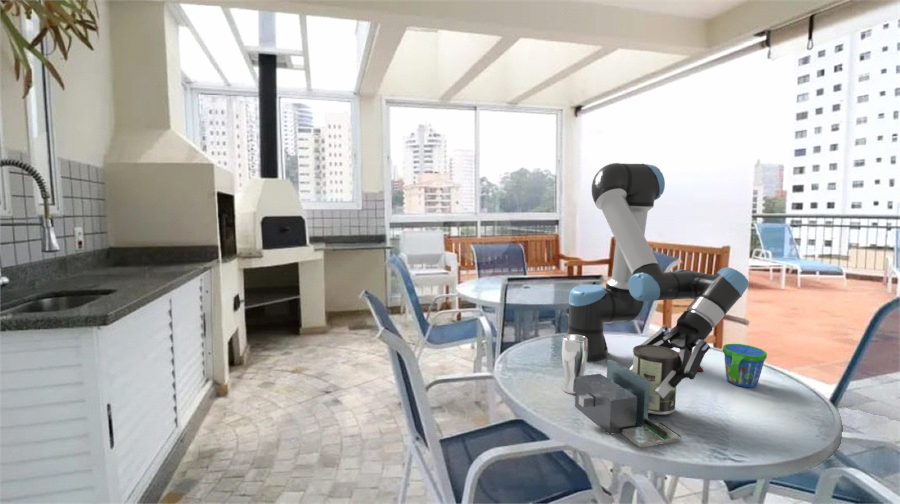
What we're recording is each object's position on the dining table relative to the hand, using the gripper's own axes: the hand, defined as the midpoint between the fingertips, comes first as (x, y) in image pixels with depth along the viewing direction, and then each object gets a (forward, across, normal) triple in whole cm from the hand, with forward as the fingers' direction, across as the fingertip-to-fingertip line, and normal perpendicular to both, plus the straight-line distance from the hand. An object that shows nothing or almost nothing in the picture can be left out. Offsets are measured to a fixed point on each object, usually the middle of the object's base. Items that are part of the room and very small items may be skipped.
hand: (643, 385), depth 109 cm
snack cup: (-23, +7, -34) cm, 41 cm away
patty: (-19, +26, -30) cm, 44 cm away
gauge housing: (+10, -4, +1) cm, 11 cm away
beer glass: (+12, +16, +2) cm, 20 cm away
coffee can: (+2, 0, -6) cm, 6 cm away
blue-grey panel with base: (+12, -3, +3) cm, 13 cm away
